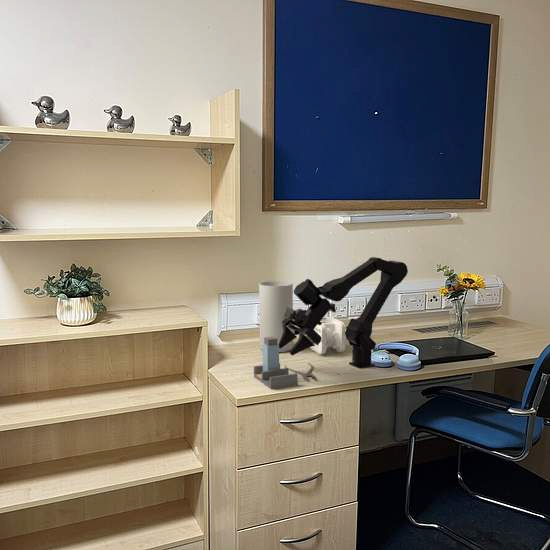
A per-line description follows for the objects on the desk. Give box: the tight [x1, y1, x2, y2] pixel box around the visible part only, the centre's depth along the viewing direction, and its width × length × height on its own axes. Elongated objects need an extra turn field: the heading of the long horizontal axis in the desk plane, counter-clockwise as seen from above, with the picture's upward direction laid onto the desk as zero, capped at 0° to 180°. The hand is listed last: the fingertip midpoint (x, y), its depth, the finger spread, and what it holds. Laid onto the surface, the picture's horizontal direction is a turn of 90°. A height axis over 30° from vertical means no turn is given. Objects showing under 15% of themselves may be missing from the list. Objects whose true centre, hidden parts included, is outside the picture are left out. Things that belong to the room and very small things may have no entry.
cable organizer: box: [308, 316, 346, 356], centre depth 229 cm, size 15×11×12 cm
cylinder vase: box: [258, 280, 294, 353], centre depth 232 cm, size 12×12×25 cm
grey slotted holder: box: [253, 362, 299, 390], centre depth 194 cm, size 9×14×4 cm, turn 24°
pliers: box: [283, 362, 318, 383], centre depth 204 cm, size 10×1×20 cm
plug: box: [262, 337, 280, 371], centre depth 197 cm, size 4×4×12 cm
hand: (284, 351), depth 198 cm, fingers open, 9 cm apart
